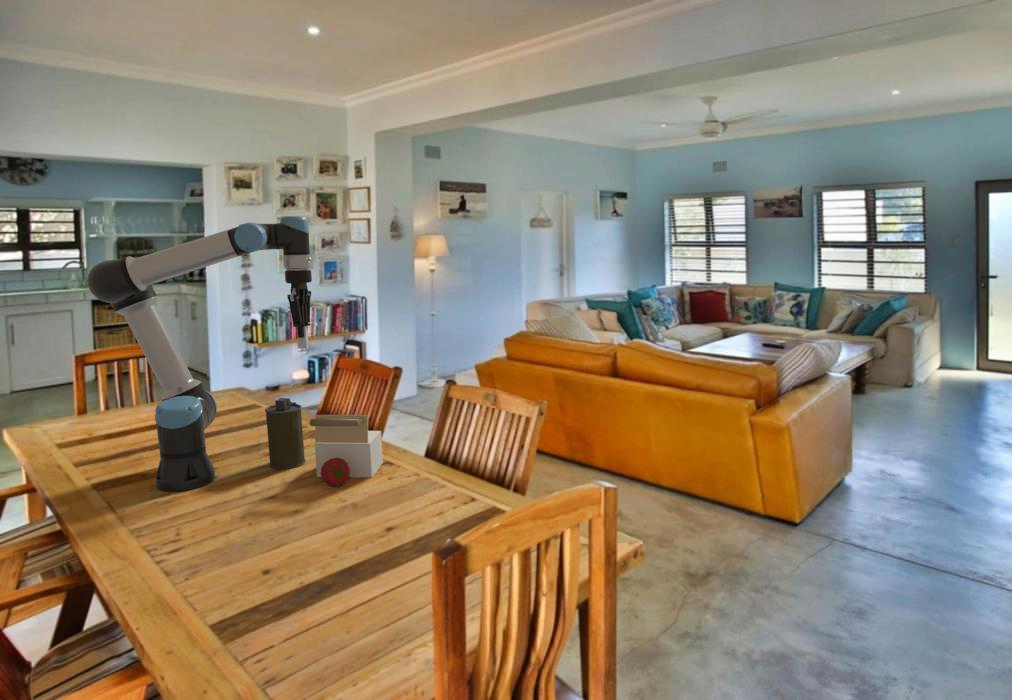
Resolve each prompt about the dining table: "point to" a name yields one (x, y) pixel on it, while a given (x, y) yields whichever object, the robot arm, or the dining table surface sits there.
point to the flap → (340, 428)
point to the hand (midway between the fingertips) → (303, 347)
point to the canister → (285, 434)
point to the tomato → (335, 472)
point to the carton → (353, 455)
